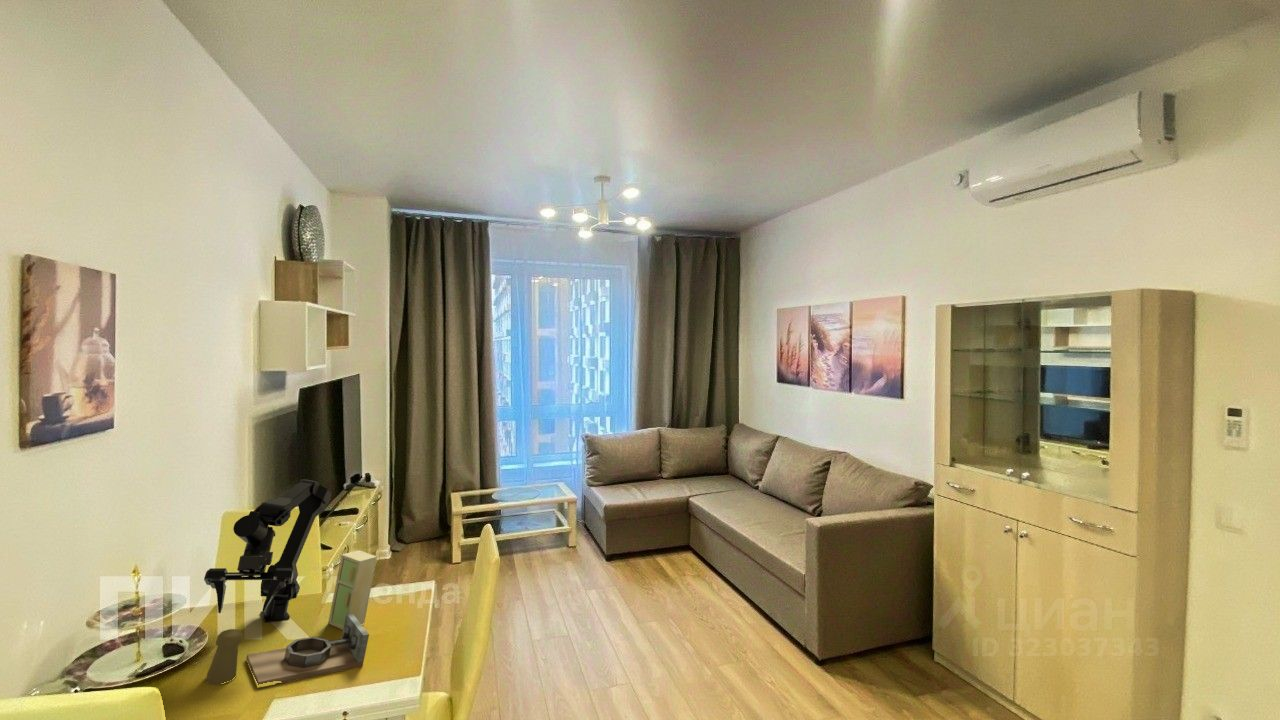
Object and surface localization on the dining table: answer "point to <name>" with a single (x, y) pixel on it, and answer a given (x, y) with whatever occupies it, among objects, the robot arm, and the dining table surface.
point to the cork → (225, 657)
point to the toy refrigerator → (352, 587)
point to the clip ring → (317, 645)
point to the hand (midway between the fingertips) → (241, 612)
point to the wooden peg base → (340, 658)
